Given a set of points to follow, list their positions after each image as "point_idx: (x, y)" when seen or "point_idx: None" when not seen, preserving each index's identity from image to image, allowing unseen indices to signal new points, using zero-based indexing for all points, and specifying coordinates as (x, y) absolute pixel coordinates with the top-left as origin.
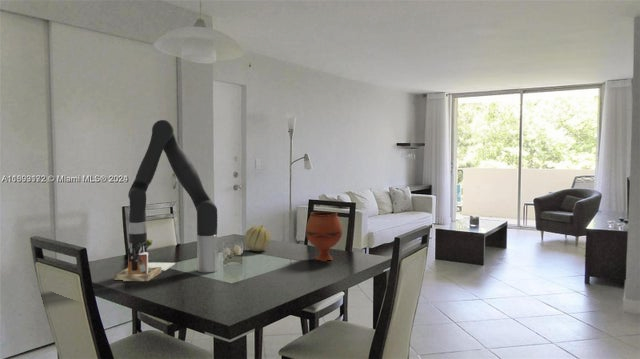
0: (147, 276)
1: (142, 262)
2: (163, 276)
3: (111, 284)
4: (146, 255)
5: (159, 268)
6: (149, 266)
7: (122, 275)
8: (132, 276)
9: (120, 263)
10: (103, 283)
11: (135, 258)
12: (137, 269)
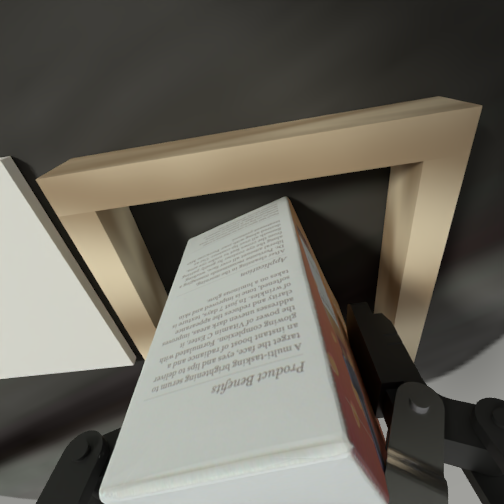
0: (474, 106)
1: (335, 337)
2: (209, 14)
3: (483, 318)
4: (350, 422)
5: (95, 168)
6: (15, 333)
7: (419, 336)
8: (431, 266)
9: (58, 455)
10: (446, 360)
11: (502, 451)
12: (334, 307)
